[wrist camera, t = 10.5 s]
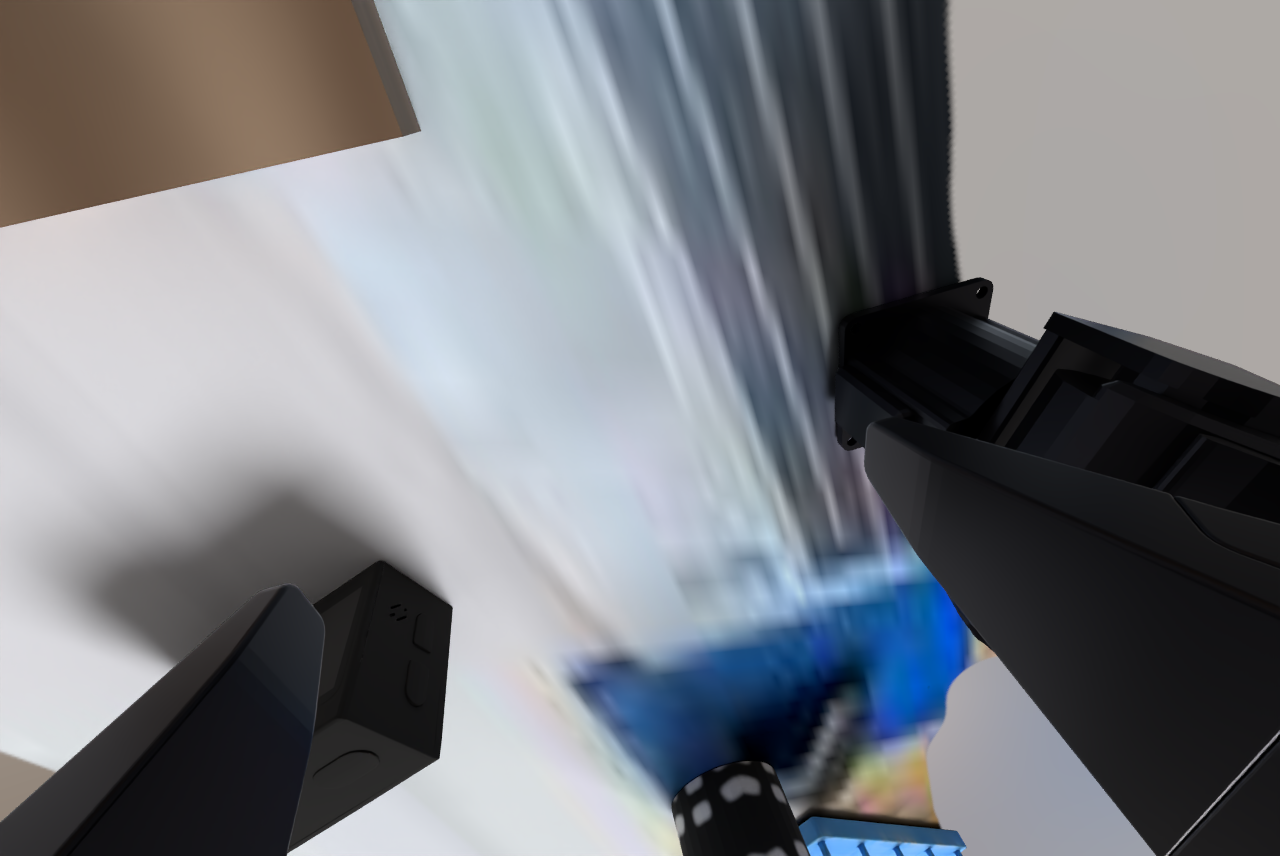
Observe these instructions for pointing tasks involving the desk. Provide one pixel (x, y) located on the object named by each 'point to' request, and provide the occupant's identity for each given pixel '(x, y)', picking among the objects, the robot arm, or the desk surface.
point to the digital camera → (374, 695)
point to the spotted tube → (737, 814)
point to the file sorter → (877, 839)
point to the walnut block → (182, 94)
